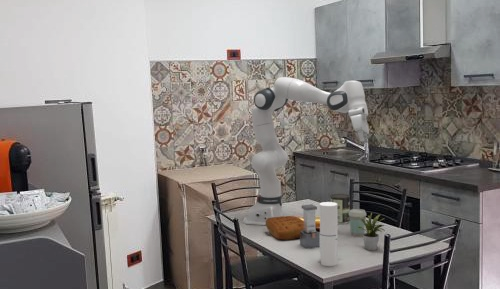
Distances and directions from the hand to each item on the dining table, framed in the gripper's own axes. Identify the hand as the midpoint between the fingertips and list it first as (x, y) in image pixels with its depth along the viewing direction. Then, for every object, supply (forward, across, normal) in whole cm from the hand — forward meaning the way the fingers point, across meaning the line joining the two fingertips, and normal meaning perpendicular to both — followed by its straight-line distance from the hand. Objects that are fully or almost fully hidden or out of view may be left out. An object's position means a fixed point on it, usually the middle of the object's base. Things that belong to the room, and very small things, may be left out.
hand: (364, 142), depth 234 cm
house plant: (+48, +4, -6) cm, 49 cm away
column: (+43, +12, -31) cm, 54 cm away
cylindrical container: (+50, +27, -19) cm, 60 cm away
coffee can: (+35, -35, -26) cm, 56 cm away
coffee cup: (+42, -14, -14) cm, 47 cm away
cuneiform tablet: (+38, -2, -45) cm, 59 cm away
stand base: (+44, +12, -31) cm, 55 cm away
